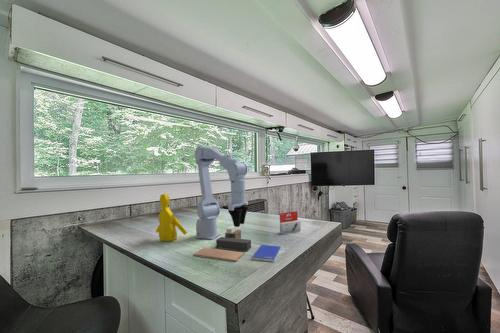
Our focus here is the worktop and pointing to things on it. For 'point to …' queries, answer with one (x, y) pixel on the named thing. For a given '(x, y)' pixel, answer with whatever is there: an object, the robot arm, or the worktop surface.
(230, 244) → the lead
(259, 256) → the hard drive
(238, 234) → the block
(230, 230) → the strap
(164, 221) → the figure statuette
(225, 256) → the mat
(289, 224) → the ink cartridge box
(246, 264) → the worktop surface
